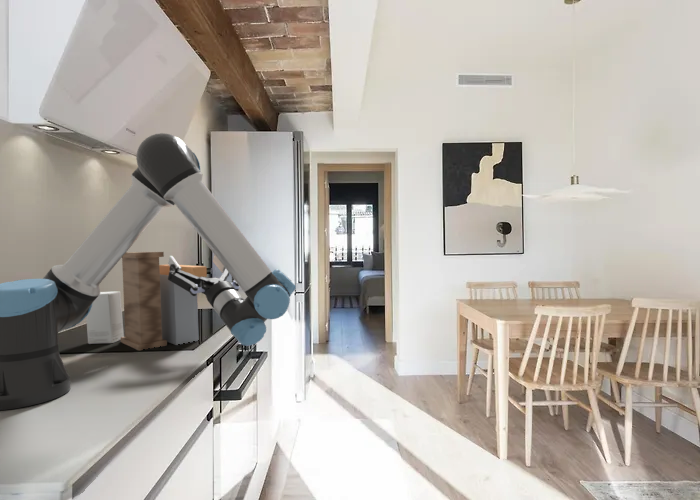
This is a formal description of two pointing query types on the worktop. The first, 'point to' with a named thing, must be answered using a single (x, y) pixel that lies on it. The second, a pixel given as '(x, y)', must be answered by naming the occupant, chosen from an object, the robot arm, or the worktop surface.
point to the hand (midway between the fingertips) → (193, 258)
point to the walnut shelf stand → (142, 300)
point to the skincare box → (105, 319)
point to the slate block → (178, 313)
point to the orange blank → (186, 270)
